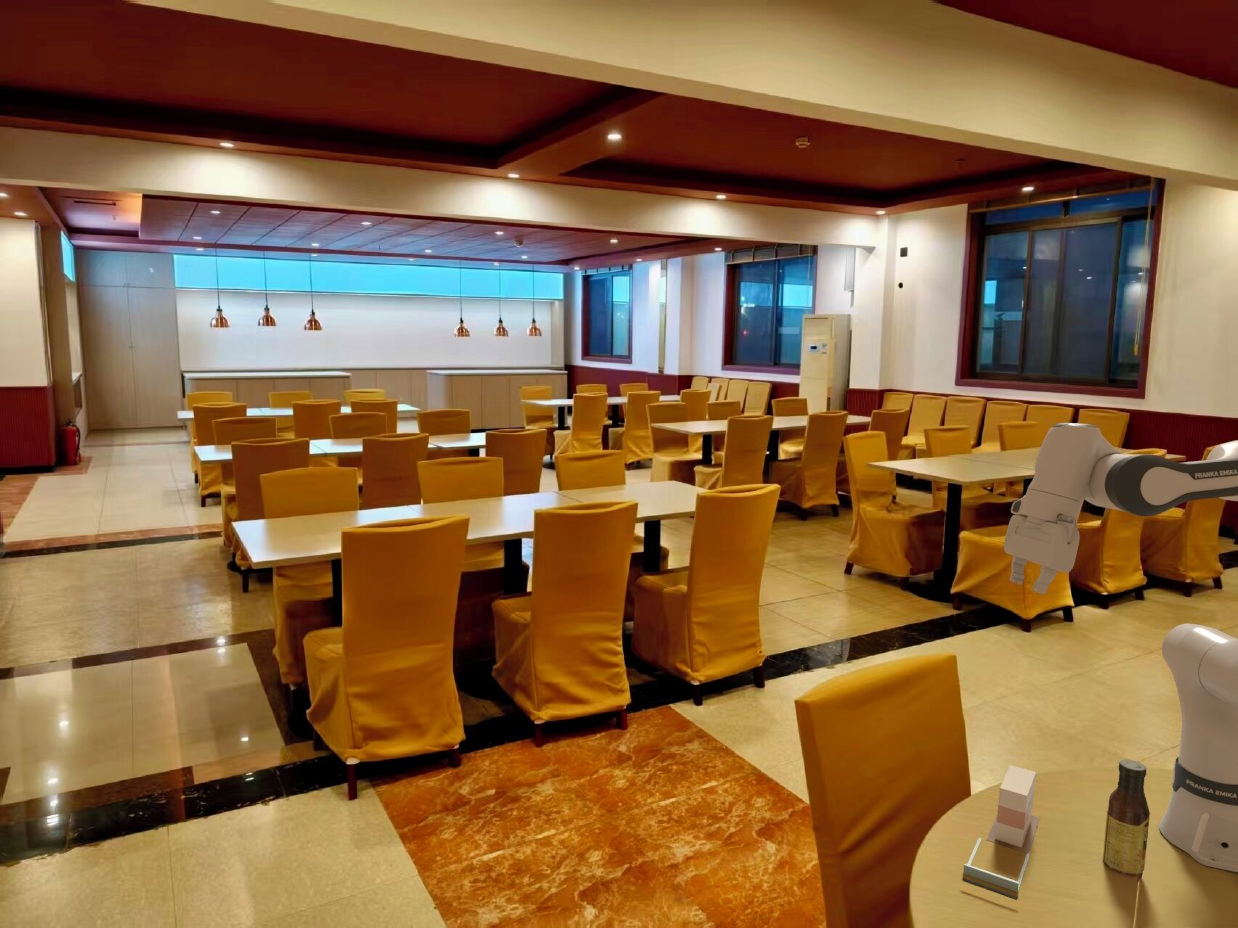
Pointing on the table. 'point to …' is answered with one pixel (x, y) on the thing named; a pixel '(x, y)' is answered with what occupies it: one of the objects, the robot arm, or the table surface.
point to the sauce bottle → (1127, 822)
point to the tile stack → (1015, 805)
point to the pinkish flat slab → (1027, 841)
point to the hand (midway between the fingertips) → (1026, 587)
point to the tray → (993, 876)
